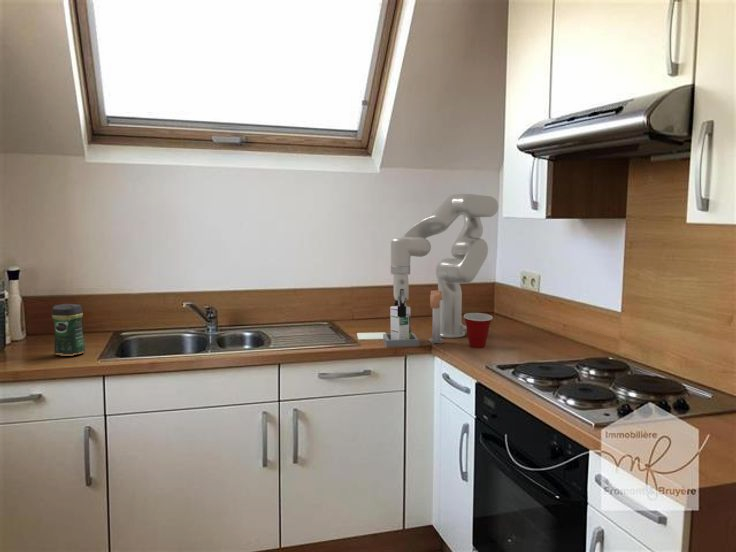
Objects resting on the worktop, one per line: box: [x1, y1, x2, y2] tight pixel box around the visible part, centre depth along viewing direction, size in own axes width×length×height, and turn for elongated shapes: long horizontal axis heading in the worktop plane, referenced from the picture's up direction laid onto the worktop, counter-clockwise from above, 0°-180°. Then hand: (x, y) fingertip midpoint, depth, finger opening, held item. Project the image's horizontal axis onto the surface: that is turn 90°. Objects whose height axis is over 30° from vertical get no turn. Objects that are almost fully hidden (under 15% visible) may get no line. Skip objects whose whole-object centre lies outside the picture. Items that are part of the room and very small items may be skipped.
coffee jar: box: [51, 303, 86, 354], centre depth 210 cm, size 10×8×19 cm
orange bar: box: [429, 289, 442, 309], centre depth 216 cm, size 25×4×5 cm, turn 172°
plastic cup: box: [463, 312, 494, 349], centre depth 219 cm, size 11×11×12 cm
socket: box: [382, 301, 445, 348], centre depth 226 cm, size 23×12×16 cm, turn 94°
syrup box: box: [389, 305, 412, 340], centre depth 226 cm, size 6×6×14 cm
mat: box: [356, 331, 387, 341], centre depth 239 cm, size 12×12×1 cm
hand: (400, 314), depth 226 cm, fingers open, 9 cm apart
